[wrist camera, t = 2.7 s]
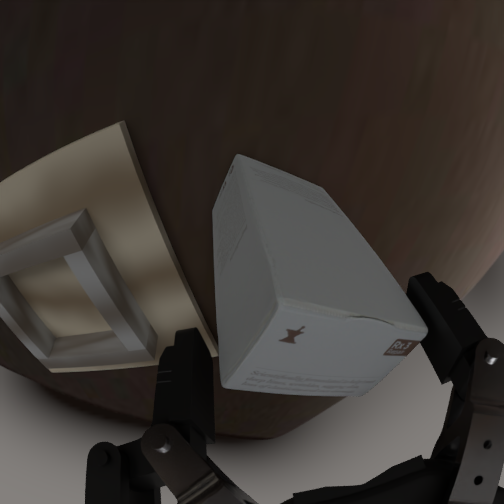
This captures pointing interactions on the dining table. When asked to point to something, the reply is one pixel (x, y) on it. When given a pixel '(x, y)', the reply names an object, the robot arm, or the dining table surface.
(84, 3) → the dining table surface
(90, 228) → the square frame tray
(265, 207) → the skincare box
